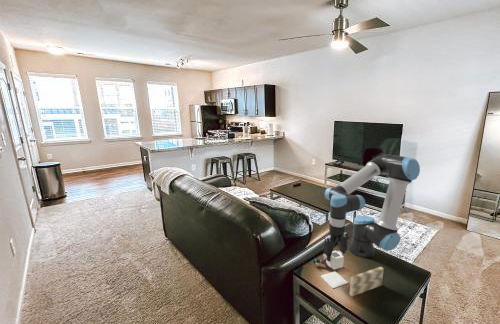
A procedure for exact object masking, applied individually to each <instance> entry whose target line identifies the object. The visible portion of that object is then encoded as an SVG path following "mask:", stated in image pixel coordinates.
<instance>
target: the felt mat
mask: <svg viewBox="0 0 500 324" xmlns="http://www.w3.org/2000/svg"><path fill="white" fill-rule="evenodd" d="M320 278H321V279H322V280H323V281H325V283H326V284H327V285H329V287H331V289H336V288H338V287H341V286H345V285H347V284H349V282H348V281H347V280H345V278H344V277H343V276H341V275H340V274H339V273H338V272H336V271H331V272H327V273H325V274H322V275H320Z"/></svg>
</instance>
